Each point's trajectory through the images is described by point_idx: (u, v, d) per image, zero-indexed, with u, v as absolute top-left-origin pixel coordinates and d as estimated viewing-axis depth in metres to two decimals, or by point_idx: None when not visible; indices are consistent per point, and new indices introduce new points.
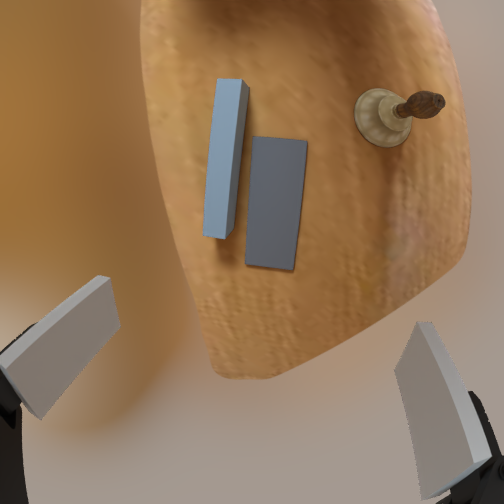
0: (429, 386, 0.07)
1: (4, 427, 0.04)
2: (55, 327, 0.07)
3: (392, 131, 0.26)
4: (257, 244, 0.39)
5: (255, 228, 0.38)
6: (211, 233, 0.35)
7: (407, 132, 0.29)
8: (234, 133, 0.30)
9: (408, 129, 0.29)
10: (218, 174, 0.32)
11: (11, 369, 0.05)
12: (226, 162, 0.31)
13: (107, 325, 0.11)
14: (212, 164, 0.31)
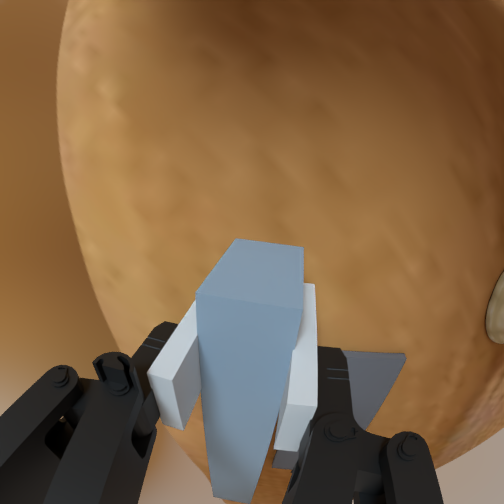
0: None
1: (134, 460, 0.05)
2: None
3: None
4: (291, 457, 0.21)
5: None
6: (227, 498, 0.15)
7: None
8: (269, 435, 0.10)
9: None
10: (233, 470, 0.12)
11: (175, 379, 0.06)
12: (250, 463, 0.11)
13: None
14: (218, 460, 0.11)
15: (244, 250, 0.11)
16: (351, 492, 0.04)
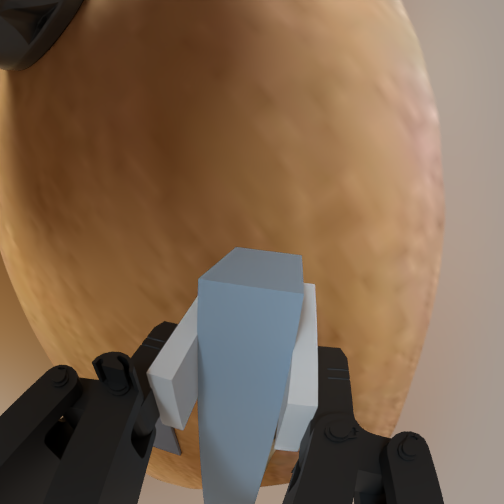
0: None
1: (134, 460, 0.05)
2: None
3: None
4: None
5: None
6: None
7: None
8: (268, 445, 0.09)
9: None
10: (228, 489, 0.10)
11: (175, 379, 0.06)
12: (246, 481, 0.10)
13: None
14: (212, 477, 0.10)
15: (244, 254, 0.11)
16: (352, 492, 0.04)
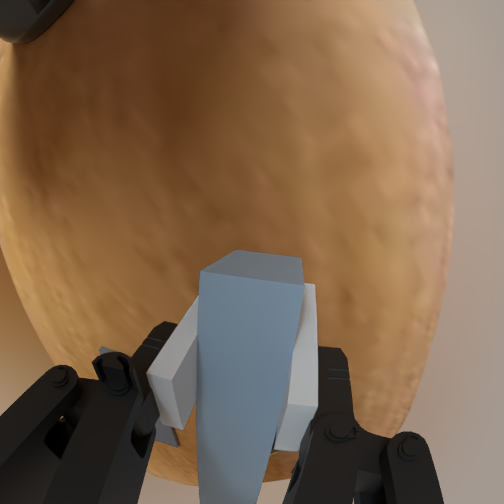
0: None
1: (134, 460, 0.05)
2: None
3: None
4: None
5: None
6: None
7: None
8: (268, 448, 0.09)
9: None
10: (226, 497, 0.09)
11: (174, 379, 0.06)
12: (245, 488, 0.09)
13: None
14: (210, 484, 0.09)
15: (245, 255, 0.11)
16: (352, 492, 0.04)
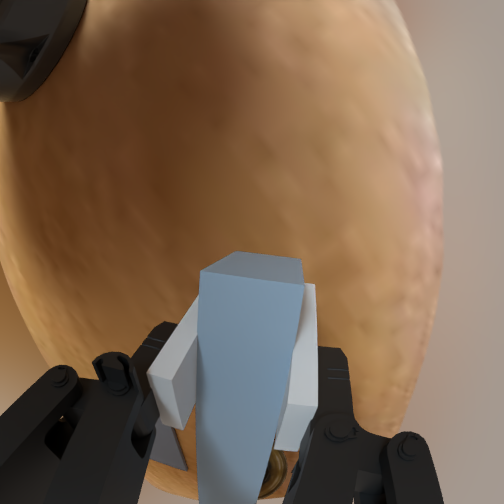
0: None
1: (134, 460, 0.05)
2: None
3: None
4: (152, 453, 0.31)
5: None
6: None
7: (281, 463, 0.22)
8: (268, 449, 0.08)
9: (281, 466, 0.21)
10: (226, 499, 0.09)
11: (175, 379, 0.06)
12: (245, 489, 0.09)
13: None
14: (209, 485, 0.09)
15: (245, 256, 0.11)
16: (352, 492, 0.04)
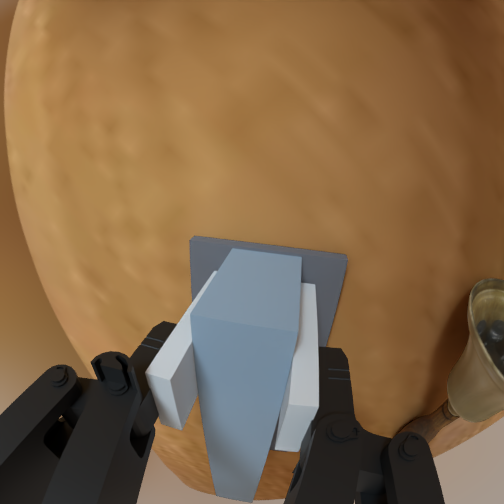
0: None
1: (133, 460, 0.05)
2: None
3: None
4: None
5: None
6: (230, 497, 0.15)
7: None
8: (268, 443, 0.10)
9: None
10: (234, 473, 0.12)
11: (173, 379, 0.06)
12: (250, 467, 0.11)
13: None
14: (219, 463, 0.12)
15: (240, 263, 0.11)
16: (353, 492, 0.04)
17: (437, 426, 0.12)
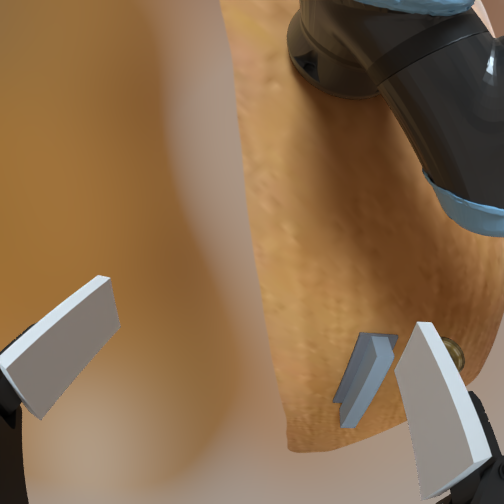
0: (429, 386, 0.07)
1: (4, 427, 0.04)
2: (55, 327, 0.07)
3: None
4: (345, 393, 0.45)
5: (346, 385, 0.44)
6: (346, 426, 0.42)
7: (457, 352, 0.35)
8: (378, 386, 0.37)
9: (457, 354, 0.35)
10: (361, 404, 0.39)
11: (11, 369, 0.05)
12: (368, 399, 0.38)
13: (107, 325, 0.11)
14: (358, 400, 0.39)
15: (376, 341, 0.38)
16: None
17: None
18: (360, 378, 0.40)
